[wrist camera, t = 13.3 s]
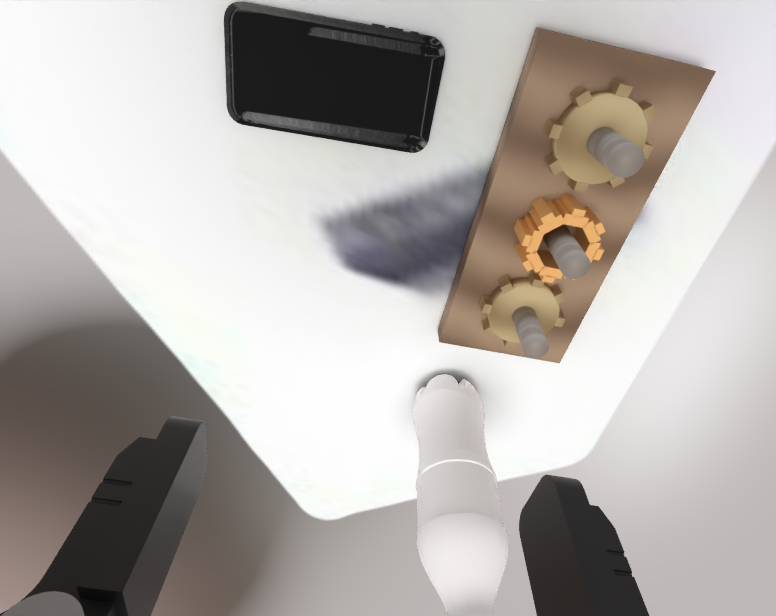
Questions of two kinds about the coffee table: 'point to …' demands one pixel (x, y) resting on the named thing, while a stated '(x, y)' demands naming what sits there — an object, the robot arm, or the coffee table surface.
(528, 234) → the gear
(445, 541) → the water bottle
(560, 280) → the gear board
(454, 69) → the coffee table surface
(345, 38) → the phone
